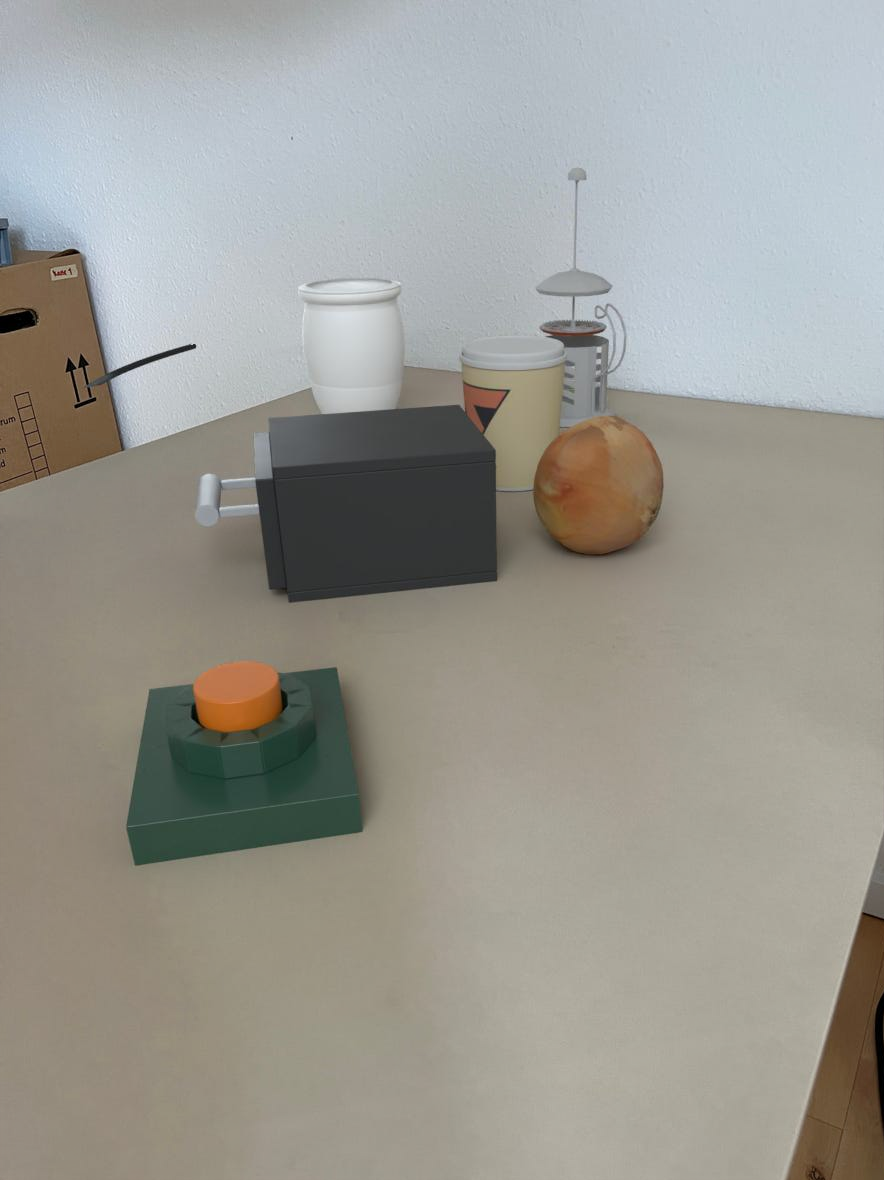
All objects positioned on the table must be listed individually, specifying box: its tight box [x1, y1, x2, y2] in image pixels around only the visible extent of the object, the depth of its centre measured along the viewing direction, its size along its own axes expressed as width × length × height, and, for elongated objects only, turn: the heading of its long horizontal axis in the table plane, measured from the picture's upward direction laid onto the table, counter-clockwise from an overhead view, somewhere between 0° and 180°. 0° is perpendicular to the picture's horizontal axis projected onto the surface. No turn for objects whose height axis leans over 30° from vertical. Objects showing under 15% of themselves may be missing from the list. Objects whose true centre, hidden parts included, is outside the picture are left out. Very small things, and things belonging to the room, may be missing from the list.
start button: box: [193, 660, 283, 732], centre depth 47 cm, size 4×4×2 cm
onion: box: [532, 415, 665, 556], centre depth 72 cm, size 10×10×10 cm
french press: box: [535, 166, 627, 428], centre depth 102 cm, size 10×12×25 cm
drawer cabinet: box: [267, 404, 498, 604], centre depth 71 cm, size 15×13×10 cm
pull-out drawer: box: [194, 431, 287, 590], centre depth 70 cm, size 18×11×8 cm, turn 102°
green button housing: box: [125, 666, 363, 867], centre depth 48 cm, size 12×10×4 cm
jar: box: [296, 277, 406, 414], centre depth 101 cm, size 11×10×15 cm
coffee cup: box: [458, 334, 567, 492], centre depth 87 cm, size 9×9×12 cm
